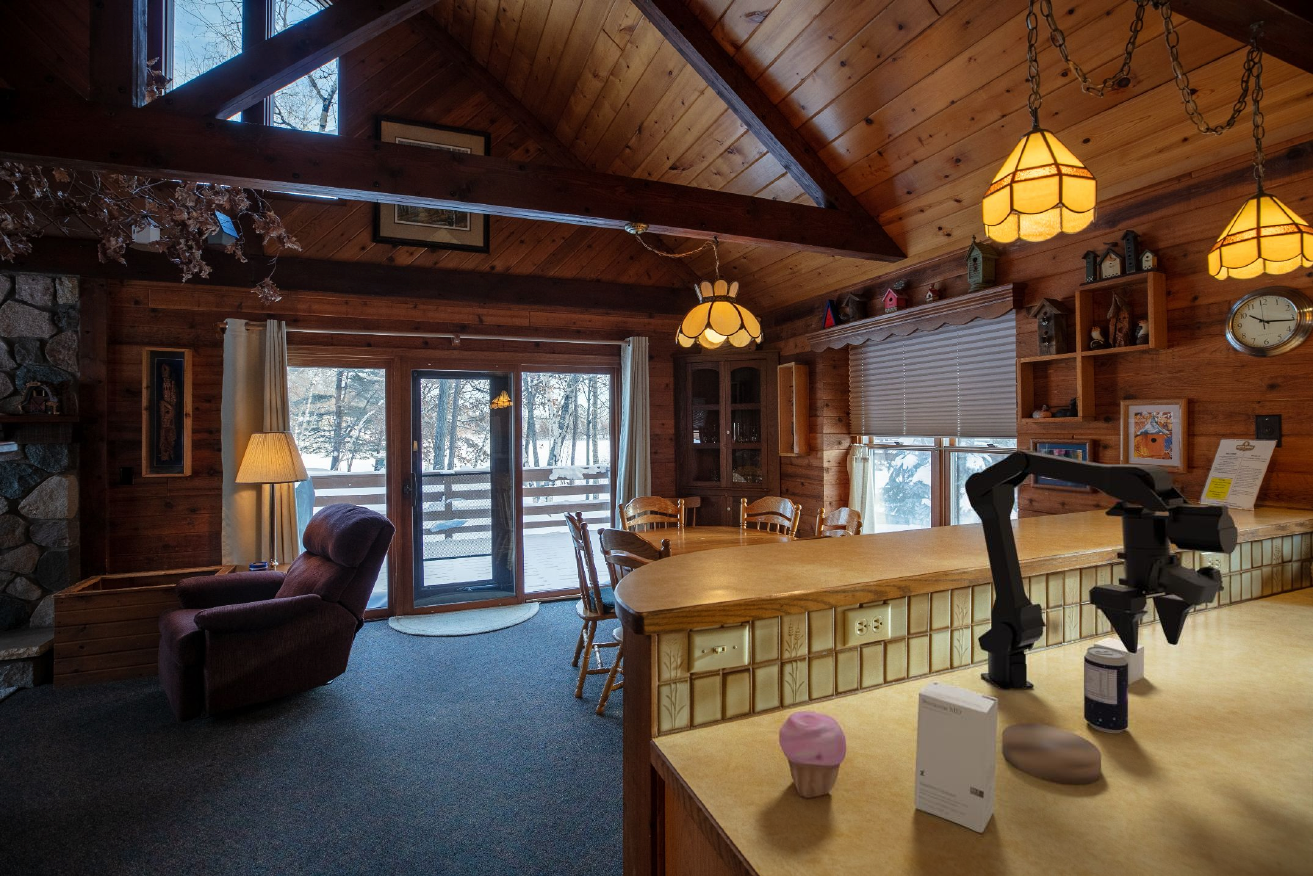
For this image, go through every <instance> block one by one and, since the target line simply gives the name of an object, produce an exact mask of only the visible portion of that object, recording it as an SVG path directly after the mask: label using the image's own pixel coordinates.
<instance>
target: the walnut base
mask: <svg viewBox="0 0 1313 876" xmlns="http://www.w3.org/2000/svg"><path fill="white" fill-rule="evenodd" d="M1001 738H1002V739H1001V745H1002V746H1001V747H1002V748H1001V750H1002V755H1003V757H1004V758H1005V760H1006V761H1007V762H1008V763H1010V764H1011V765H1012V766H1013V767H1015V768H1016V769H1017V770H1020V771H1021V772H1024V773H1025V774H1028V775H1030V776H1032V777H1035V778H1037V779H1040V780H1045V781H1048V782H1052V783H1057V784H1062V785H1072V786H1073V785H1074V786H1075V785H1076V786H1078V785H1087V784H1093V783H1096V782H1098V780H1100V779H1101V777H1102V754H1101V751H1100V749H1099V748H1098V747H1097V746H1096V745H1094V743H1092V742H1091V741H1090V740H1089V739H1087V738H1084V737H1083V736H1080V735H1078V734H1076V733H1073V732H1071V731H1069V730H1066V729H1061V728H1058V727H1055V726H1049V725H1046V724H1038V723H1036V724H1035V723H1017V724H1012V725H1009V726H1007V727H1006V728H1004V729H1003V730H1002V733H1001Z"/></svg>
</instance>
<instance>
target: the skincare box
mask: <svg viewBox="0 0 1313 876" xmlns="http://www.w3.org/2000/svg"><path fill="white" fill-rule="evenodd" d="M917 706H918V707H917V727H916V728H917V729H916V731H917V732H916V754H915V755H916V756H915V772H914V773H915V775H914V776H915V777H914V778H915V779H914V780H915V781H914V800H913V801H914V806H915V807H914V808H915V809H917V810H920V811H922V812H925V813H928V814H932V815H934V816H937V817H939V818H942V819H945V820H948V821H949V822H952V823H956V824H958V825H960V826H963V827H965V828H967V829H969V830H972V831H974V832H977V833H978V834H979V833H981V834H982V833H984V831H985V829H986V827H987V825H988V823H989V821H990V819H991V817H992V815H993V814H994V805H995V804H994V801H995V781H996V759H997V757H996V756H997V733H998V732H997V729H998V714H999V713H998V710H999V699H998V698H996V697H993V696H989V695H987V694H983V693H979V692H975V691H973V690H971V689H967V688H963V687H960V686H956V685H955V686H954V685H951V684H946V683H943V682H938V681H935V680H931V681H929V683H927V684H926V685H925V687H924V688H923V689H922V690H920V691H919V693H918V705H917Z"/></svg>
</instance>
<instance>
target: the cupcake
mask: <svg viewBox="0 0 1313 876" xmlns="http://www.w3.org/2000/svg"><path fill="white" fill-rule="evenodd" d="M778 733H779V734H778V735H779V736H778V742H779V745H780V748H781V750H782V752H783V755H784V756H785V757H786V759H787V763H788V766H789V771H790V776H791V779H792V780H793V784H794V785H795V788H796V790H797V792H798V794H799V795H800V796H801V797H803V798H806V799H811V798H816V797H821V796H825V795H827V794H829V793H830V792H831V791H832V790H833V788H834V787H835V785H836V782H837V779H838V775H839V771H840V768H841V767H840V765H841V764H842V763H844V762H843V761H844V760H845V758H846V754H847V741H846V735H845V732H844V731H843V729H842V728H841V725H840V724H839V722H838V721H837V720H836V719H835V718H834V717H833V716H831V715H829V714H826V713H820V712H815V711H811V710H801V711H796V712H793V713H792V714H790V715H789V716H788V718H786V721H784V722H783V723H782V725H781V726H780V728H779V731H778Z"/></svg>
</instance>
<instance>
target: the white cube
mask: <svg viewBox="0 0 1313 876" xmlns="http://www.w3.org/2000/svg"><path fill="white" fill-rule="evenodd" d="M1144 646H1145V645H1141V644H1138V647H1137V653H1130V652H1128V651H1127V649H1126V648H1125V646H1124V644H1123V643H1122V641H1121V640H1119V639H1115V638H1111V637H1106V638H1104V639H1101V640H1099V641H1097V642H1094V643H1093V647H1105V648H1111V649H1115V650H1118V651H1120V652H1122V653H1124V655H1125V659H1126V661H1127V663H1128V683H1129V684H1128V685H1132V684H1134V683H1135V682H1134V681H1136V680H1138V679H1139V680H1141V679H1143V678H1145V675H1144V674H1145V647H1144ZM1142 677H1143V678H1142ZM1140 678H1141V679H1140ZM1139 680H1138V681H1139ZM1133 682H1134V683H1133ZM1136 682H1137V681H1136ZM1131 683H1132V684H1131Z"/></svg>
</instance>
